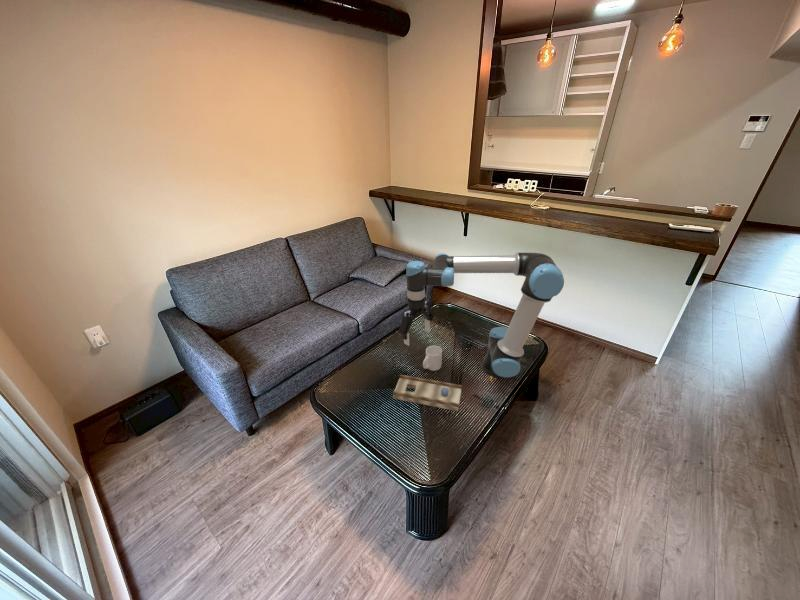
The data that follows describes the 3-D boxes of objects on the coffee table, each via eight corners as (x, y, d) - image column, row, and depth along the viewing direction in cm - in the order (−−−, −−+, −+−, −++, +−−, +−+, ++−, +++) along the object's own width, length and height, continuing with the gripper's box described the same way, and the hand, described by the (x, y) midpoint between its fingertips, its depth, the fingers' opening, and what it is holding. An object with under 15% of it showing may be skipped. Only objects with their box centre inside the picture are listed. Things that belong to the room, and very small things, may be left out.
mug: (428, 377, 152) (429, 361, 147) (417, 369, 157) (417, 353, 152) (444, 366, 159) (445, 350, 154) (433, 358, 164) (433, 343, 159)
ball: (449, 392, 139) (449, 386, 138) (447, 397, 136) (448, 392, 135) (441, 390, 140) (441, 385, 139) (440, 396, 137) (440, 390, 136)
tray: (461, 391, 143) (461, 385, 141) (458, 411, 133) (458, 404, 131) (400, 380, 151) (399, 374, 149) (393, 398, 141) (392, 392, 139)
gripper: (429, 284, 139) (429, 323, 149) (388, 304, 124) (391, 346, 134) (442, 289, 134) (441, 329, 144) (400, 311, 119) (403, 353, 129)
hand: (417, 337), depth 139 cm, fingers open, 13 cm apart
